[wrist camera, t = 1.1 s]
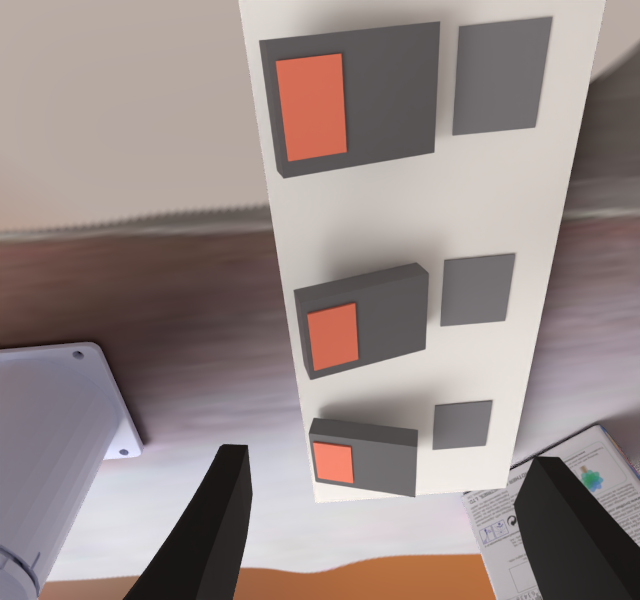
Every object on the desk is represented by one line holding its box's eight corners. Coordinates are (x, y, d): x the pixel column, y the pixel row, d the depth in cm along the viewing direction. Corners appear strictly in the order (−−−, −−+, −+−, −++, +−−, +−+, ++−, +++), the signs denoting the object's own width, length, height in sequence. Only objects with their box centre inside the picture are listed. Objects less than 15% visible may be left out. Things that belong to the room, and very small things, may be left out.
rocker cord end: (276, 170, 14) (284, 179, 13) (258, 40, 12) (266, 40, 11) (419, 146, 15) (435, 153, 14) (423, 22, 13) (442, 21, 12)
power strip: (314, 473, 28) (315, 504, 26) (191, -372, 11) (169, -451, 9) (493, 459, 27) (506, 489, 25) (647, -429, 11) (717, -523, 9)
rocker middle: (303, 365, 18) (311, 381, 17) (293, 289, 16) (300, 304, 16) (414, 336, 19) (426, 350, 18) (416, 262, 17) (430, 274, 16)
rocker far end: (320, 465, 24) (315, 483, 23) (313, 417, 22) (307, 435, 21) (416, 479, 22) (415, 499, 21) (418, 429, 20) (417, 448, 20)
